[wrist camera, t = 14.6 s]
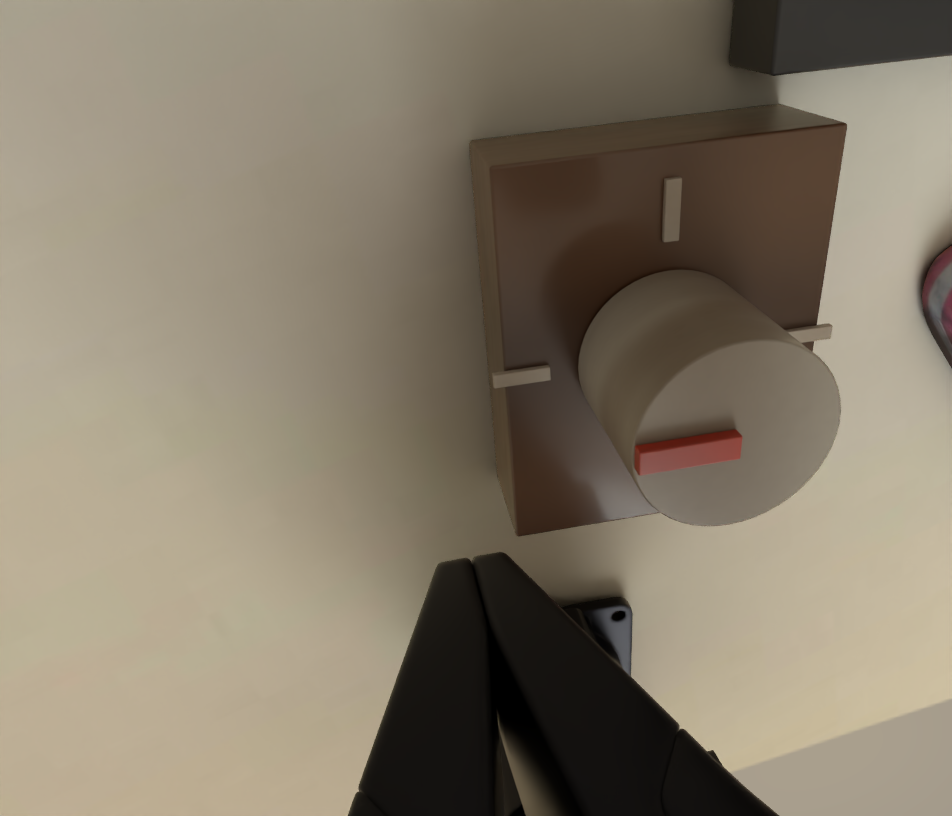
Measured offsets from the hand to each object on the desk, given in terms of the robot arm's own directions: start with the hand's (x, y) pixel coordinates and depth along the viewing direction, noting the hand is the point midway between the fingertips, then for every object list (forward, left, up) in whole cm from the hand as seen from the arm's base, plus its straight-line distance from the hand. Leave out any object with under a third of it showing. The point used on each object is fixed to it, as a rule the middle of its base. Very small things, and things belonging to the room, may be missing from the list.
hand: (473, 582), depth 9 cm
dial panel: (-2, -6, -12) cm, 14 cm away
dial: (-2, -6, -9) cm, 11 cm away
